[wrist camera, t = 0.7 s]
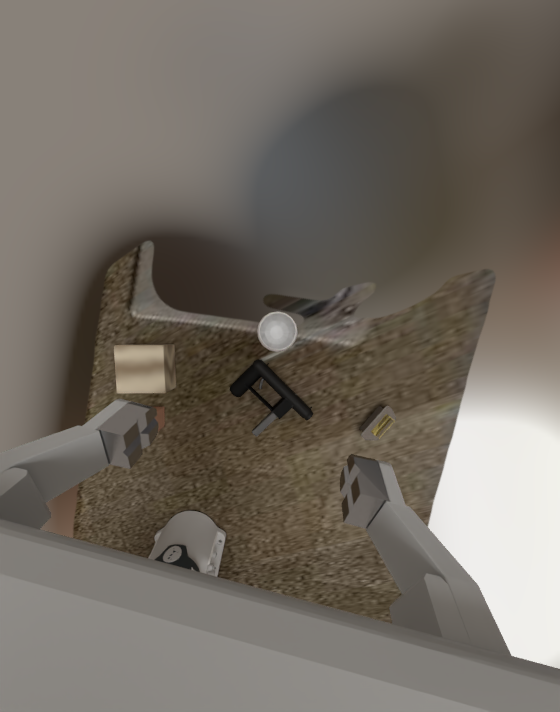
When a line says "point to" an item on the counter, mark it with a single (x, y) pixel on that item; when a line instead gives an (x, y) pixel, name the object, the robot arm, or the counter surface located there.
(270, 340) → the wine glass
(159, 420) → the terracotta block
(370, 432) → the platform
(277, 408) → the black clamp
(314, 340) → the counter surface
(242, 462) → the counter surface
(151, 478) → the counter surface
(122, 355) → the birch box
